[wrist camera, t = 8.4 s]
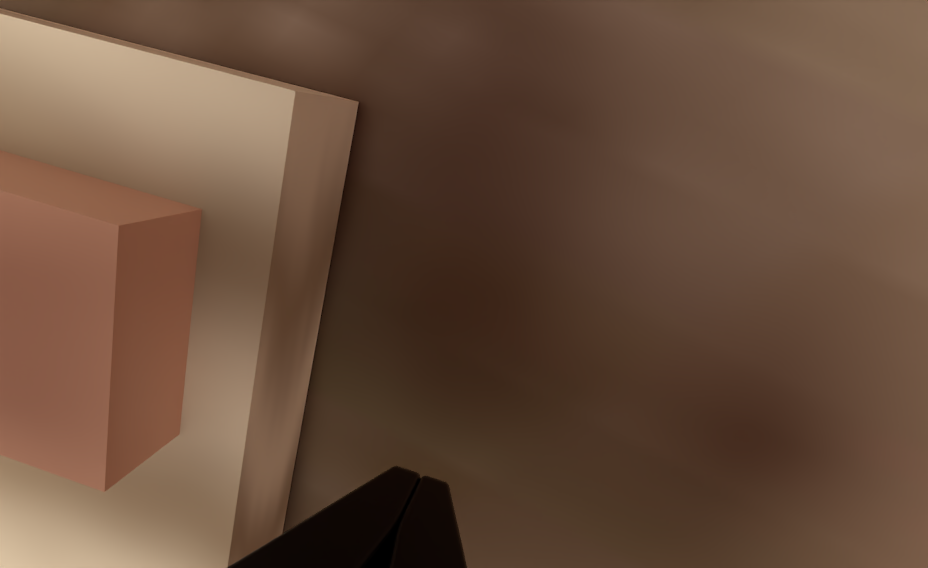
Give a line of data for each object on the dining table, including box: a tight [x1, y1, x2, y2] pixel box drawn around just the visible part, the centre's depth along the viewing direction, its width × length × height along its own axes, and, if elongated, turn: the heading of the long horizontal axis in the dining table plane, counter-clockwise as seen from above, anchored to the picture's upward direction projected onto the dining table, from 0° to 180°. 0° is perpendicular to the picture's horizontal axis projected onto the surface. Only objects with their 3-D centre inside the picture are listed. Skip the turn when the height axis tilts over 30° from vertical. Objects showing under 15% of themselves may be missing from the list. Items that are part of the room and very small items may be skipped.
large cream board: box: [0, 8, 359, 568], centre depth 14 cm, size 20×12×3 cm, turn 166°
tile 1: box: [0, 150, 202, 492], centre depth 10 cm, size 5×5×2 cm
